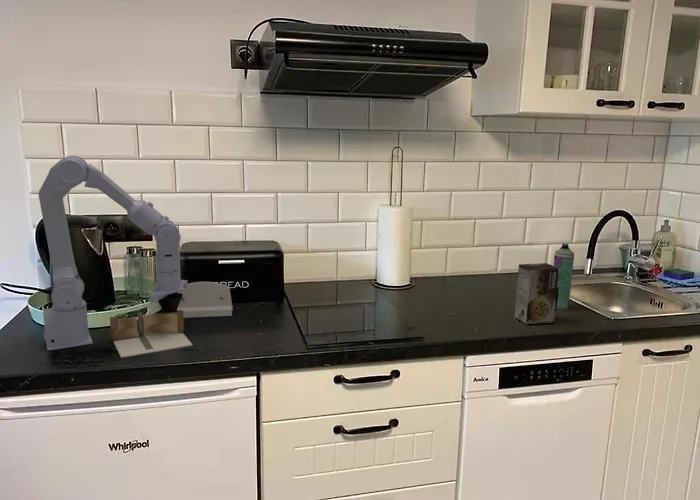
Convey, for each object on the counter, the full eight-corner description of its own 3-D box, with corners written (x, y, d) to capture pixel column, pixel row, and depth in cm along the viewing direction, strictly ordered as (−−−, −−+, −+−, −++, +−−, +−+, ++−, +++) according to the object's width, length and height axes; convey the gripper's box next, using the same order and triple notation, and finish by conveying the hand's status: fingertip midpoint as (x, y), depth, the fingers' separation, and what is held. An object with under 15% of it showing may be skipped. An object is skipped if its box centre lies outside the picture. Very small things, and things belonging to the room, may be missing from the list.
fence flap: (138, 336, 136) (137, 314, 135) (138, 333, 138) (137, 312, 137) (184, 332, 140) (183, 311, 138) (184, 330, 141) (183, 309, 140)
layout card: (121, 357, 124) (121, 356, 124) (111, 338, 136) (111, 336, 136) (192, 345, 133) (192, 344, 132) (177, 328, 144) (177, 326, 144)
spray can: (564, 305, 172) (571, 242, 168) (571, 311, 167) (578, 246, 163) (546, 305, 172) (553, 242, 168) (552, 310, 167) (559, 245, 163)
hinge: (170, 318, 152) (170, 281, 153) (172, 318, 156) (172, 283, 158) (233, 315, 155) (232, 280, 157) (233, 316, 160) (232, 281, 161)
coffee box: (541, 316, 161) (546, 262, 158) (554, 324, 155) (560, 267, 152) (513, 318, 159) (518, 263, 156) (525, 325, 153) (530, 269, 149)
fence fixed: (111, 341, 133) (110, 319, 132) (110, 339, 134) (109, 317, 133) (138, 337, 136) (136, 315, 135) (136, 335, 138) (135, 313, 136)
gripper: (166, 278, 130) (168, 333, 133) (197, 264, 144) (198, 314, 147) (140, 275, 132) (142, 329, 135) (172, 262, 146) (174, 312, 148)
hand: (170, 321), depth 141 cm, fingers closed
